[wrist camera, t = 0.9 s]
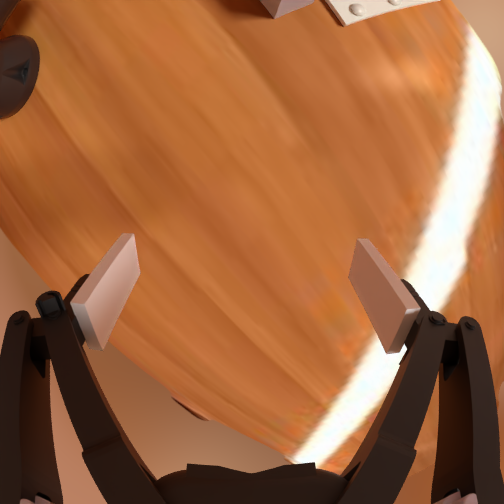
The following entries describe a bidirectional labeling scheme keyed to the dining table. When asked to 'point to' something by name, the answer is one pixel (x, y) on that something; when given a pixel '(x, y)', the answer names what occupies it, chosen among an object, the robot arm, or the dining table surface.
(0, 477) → the robot arm
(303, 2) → the gray brick
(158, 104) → the dining table surface
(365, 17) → the studded cream panel
